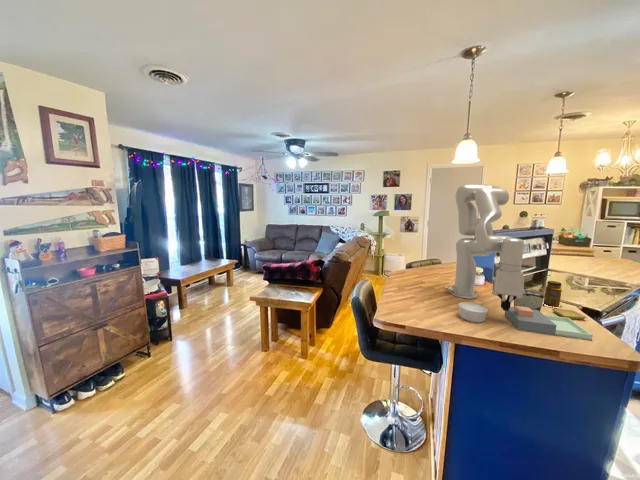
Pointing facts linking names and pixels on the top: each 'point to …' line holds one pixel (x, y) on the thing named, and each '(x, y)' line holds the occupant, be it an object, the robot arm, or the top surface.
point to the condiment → (553, 293)
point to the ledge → (532, 322)
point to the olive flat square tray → (568, 314)
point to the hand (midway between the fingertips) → (505, 309)
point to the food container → (530, 300)
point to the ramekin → (472, 311)
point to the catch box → (569, 328)
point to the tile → (523, 311)
